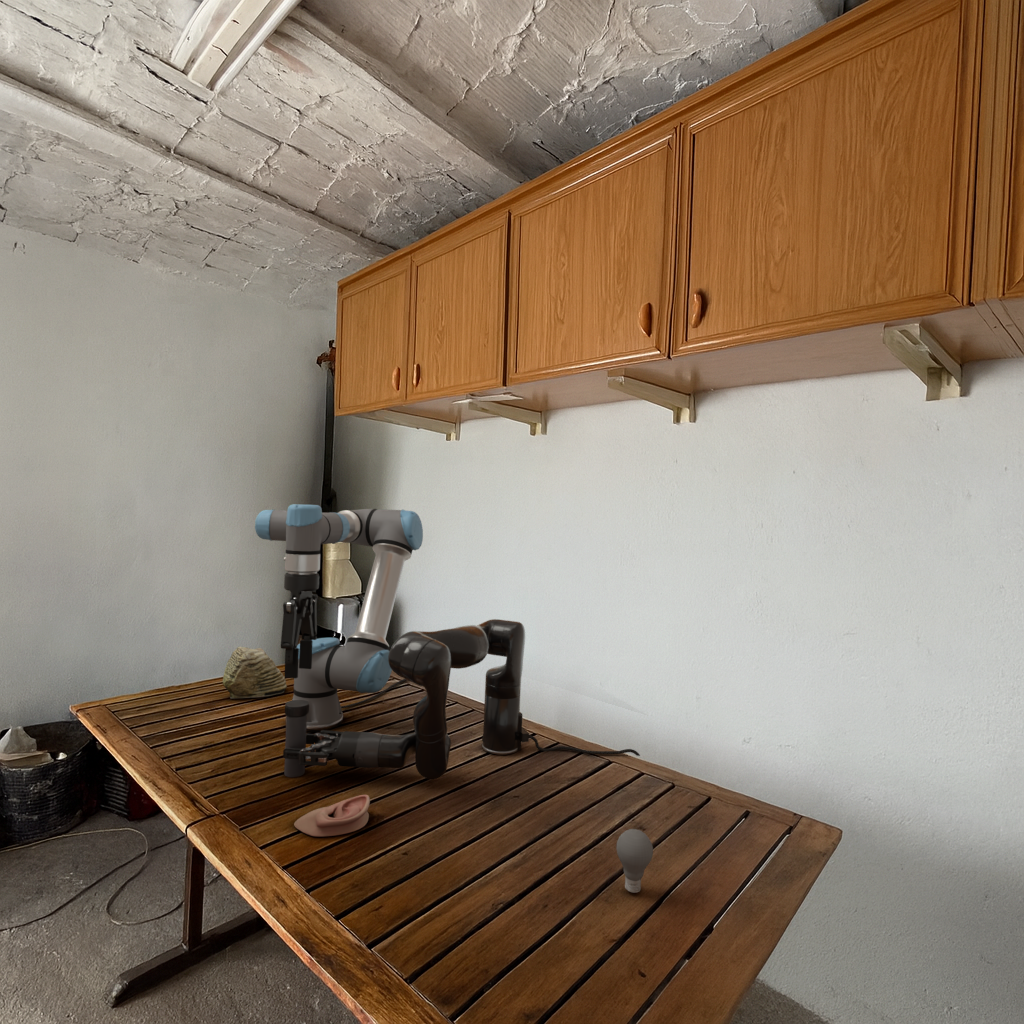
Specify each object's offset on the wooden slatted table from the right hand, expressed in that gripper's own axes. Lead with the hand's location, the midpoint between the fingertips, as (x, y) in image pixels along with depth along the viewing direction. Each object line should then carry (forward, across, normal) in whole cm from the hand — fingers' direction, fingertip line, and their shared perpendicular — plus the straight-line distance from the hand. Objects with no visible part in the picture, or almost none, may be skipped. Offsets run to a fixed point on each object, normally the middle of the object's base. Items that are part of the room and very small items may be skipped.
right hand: (291, 745), depth 144 cm
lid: (-1, 0, -9) cm, 9 cm away
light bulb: (-72, +36, +6) cm, 81 cm away
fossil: (+32, -53, +6) cm, 62 cm away
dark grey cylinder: (-1, 0, +6) cm, 6 cm away
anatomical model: (-16, +20, +6) cm, 27 cm away
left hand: (-1, 0, -17) cm, 17 cm away
